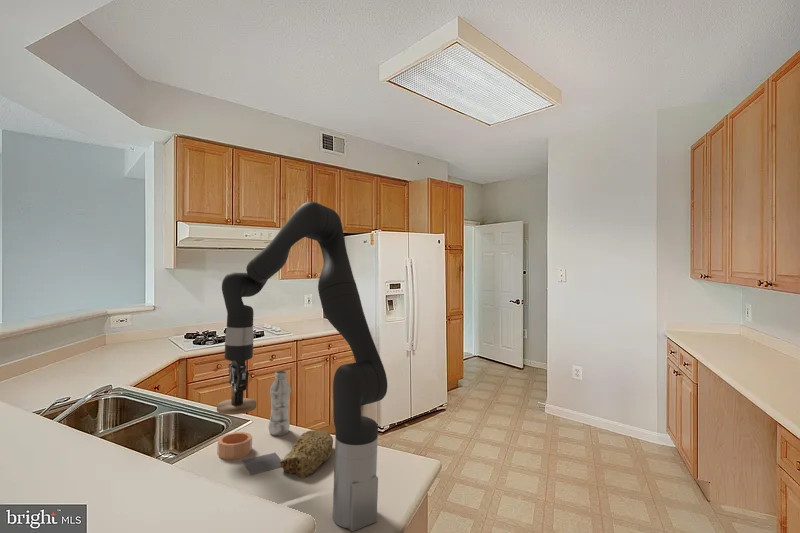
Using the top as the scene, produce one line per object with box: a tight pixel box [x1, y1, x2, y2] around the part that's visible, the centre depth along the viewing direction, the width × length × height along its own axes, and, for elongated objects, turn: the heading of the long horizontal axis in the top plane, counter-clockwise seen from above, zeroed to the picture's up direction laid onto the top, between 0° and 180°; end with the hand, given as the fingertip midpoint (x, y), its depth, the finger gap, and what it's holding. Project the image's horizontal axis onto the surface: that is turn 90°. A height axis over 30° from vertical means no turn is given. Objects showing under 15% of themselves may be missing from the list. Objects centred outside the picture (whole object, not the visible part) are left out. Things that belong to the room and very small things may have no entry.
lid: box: [216, 385, 257, 416], centre depth 112 cm, size 10×10×6 cm
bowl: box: [216, 431, 253, 460], centre depth 112 cm, size 9×9×4 cm
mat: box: [241, 452, 281, 476], centre depth 106 cm, size 9×9×1 cm
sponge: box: [279, 429, 334, 478], centre depth 109 cm, size 13×8×20 cm
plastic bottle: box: [268, 370, 291, 437], centre depth 126 cm, size 6×7×20 cm
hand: (236, 402), depth 112 cm, fingers closed on lid, 3 cm apart
